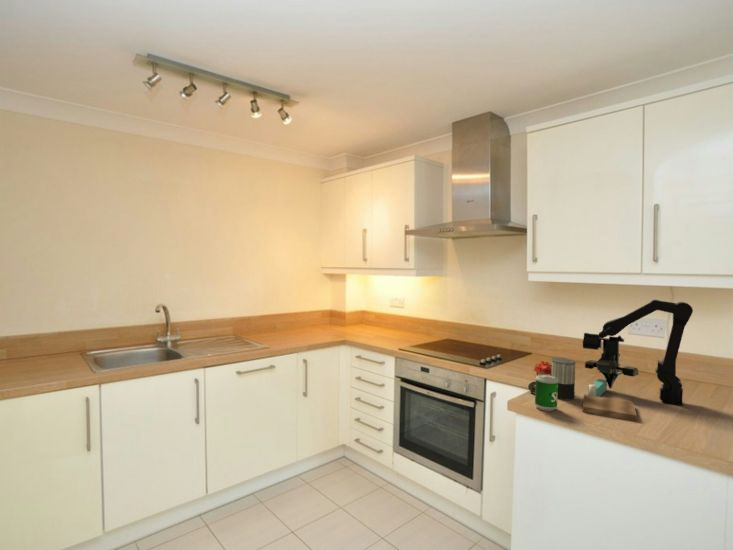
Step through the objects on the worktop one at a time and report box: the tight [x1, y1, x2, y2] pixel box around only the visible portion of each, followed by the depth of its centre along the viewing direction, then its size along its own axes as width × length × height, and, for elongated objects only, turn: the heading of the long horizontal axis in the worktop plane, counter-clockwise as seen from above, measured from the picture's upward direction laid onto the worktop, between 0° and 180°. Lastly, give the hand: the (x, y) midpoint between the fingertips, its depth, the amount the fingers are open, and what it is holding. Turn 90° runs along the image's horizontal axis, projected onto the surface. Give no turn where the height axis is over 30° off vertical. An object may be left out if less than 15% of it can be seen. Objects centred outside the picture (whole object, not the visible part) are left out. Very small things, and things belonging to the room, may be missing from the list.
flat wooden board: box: [582, 394, 638, 422], centre depth 146 cm, size 16×16×2 cm
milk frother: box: [527, 357, 577, 400], centre depth 162 cm, size 14×16×15 cm
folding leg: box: [587, 378, 608, 397], centre depth 164 cm, size 18×3×5 cm, turn 137°
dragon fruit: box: [533, 360, 552, 377], centre depth 187 cm, size 8×8×12 cm
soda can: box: [534, 374, 558, 412], centre depth 146 cm, size 8×8×12 cm
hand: (610, 388), depth 167 cm, fingers closed
